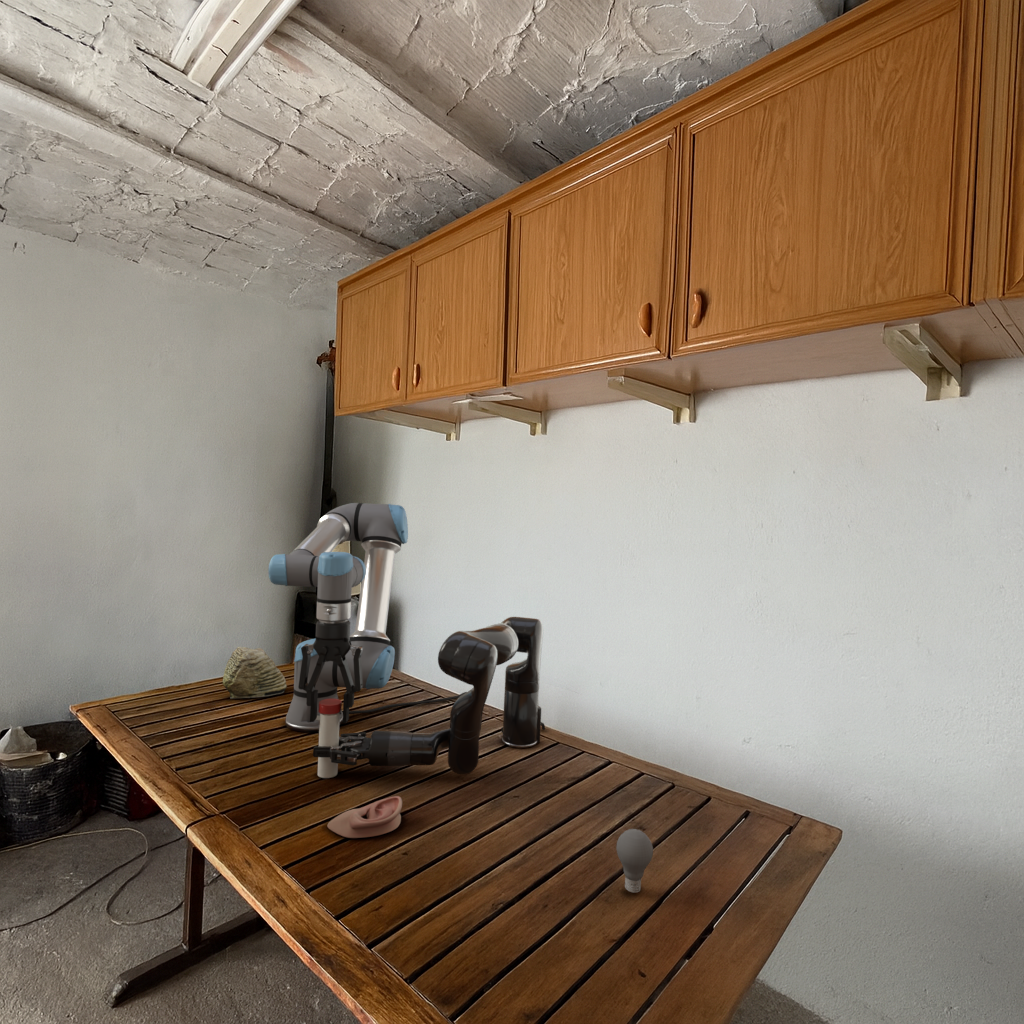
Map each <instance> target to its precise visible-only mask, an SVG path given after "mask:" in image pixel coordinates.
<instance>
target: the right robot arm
mask: <svg viewBox="0 0 1024 1024" xmlns="http://www.w3.org/2000/svg"><path fill="white" fill-rule="evenodd" d="M543 641H544V624H543V622H542V620H541V619H539V618H533V617H523V616H509V617H507V618H504V620H502V621H501V622H498V623H493V624H490V625H487V626H485V627H482V628H478V629H477V628H476V629H473V630H457V631H455V632H453V633H451V634H449V636H447V638H446V639H445V640H444V642H442V645H441V646H440V648H439V651H438V654H437V663H438V666H439V669H440V670H441V671H442V672H443V673H444V674H446V675H447V676H449V677H451V678H453V679H456V680H458V681H460V682H463V683H464V684H467V685H470V686H472V687H471V689H470V690H468V691H466V692H467V693H465V694H463V695H462V696H461V697H459V698H457V699H455V701H454V703H453V704H452V707H451V709H450V713H449V728H446V729H442V730H437V731H433V732H407V731H395V730H394V731H393V730H392V731H391V730H389V731H387V730H375V731H374V730H373V732H372V733H371V735H370V737H367V732H365V731H360V732H349V733H341V734H339V746H333V747H330V746H319V745H316V746H314V747H313V749H312V756H313V758H318V757H330V759H331V762H332V763H338V765H339V764H340V765H347V766H353V767H354V766H357V762H358V761H361V760H368V764H369V765H370V766H371V767H406V766H423V767H424V766H425V767H426V766H428V767H429V766H433V765H435V764H436V762H437V760H438V757H439V755H440V754H439V753H440V752H441V751H443V750H446V749H447V765H448V767H449V769H450V770H451V771H452V772H453V773H454V774H456V775H459V776H466V775H468V774H471V773H472V772H474V771H475V769H476V768H477V767H478V764H479V758H480V757H479V752H480V751H479V749H480V735H481V730H482V724H483V723H482V721H483V720H482V719H483V712H484V709H485V705H486V702H487V698H488V696H489V692H490V689H491V686H492V682H493V679H494V675H495V672H496V669H497V666H500V665H503V664H505V663H506V662H508V661H510V660H511V659H513V657H515V655H516V653H521V654H527V656H526V658H525V659H523V660H521V661H517V662H513V663H510V664H508V665H507V666H506V667H505V671H504V672H505V673H504V693H503V716H502V717H503V719H502V723H503V724H502V727H501V730H500V731H501V734H502V737H501V743H503V744H504V745H506V746H507V747H511V748H515V749H527V748H531V747H534V746H537V744H540V743H541V730H543V731H545V730H546V725H545V723H544V722H543V721H542V707H541V706H539V705H540V704H539V703H540V681H541V666H542V665H541V664H542V649H543V643H544V642H543Z"/></svg>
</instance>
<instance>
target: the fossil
mask: <svg viewBox="0 0 1024 1024" xmlns="http://www.w3.org/2000/svg"><path fill="white" fill-rule="evenodd" d="M222 676H223V677H222V685H223V687H224V688H225V690H226V691H228V693H229V698H230V699H250V698H264V697H271V696H275V695H281V694H284V693H285V691H286V689H287V687H288V686H287V680H286V678H285V676H284V674H283V673H282V672H281V669H279V668H278V667H277V665H276V663H275V662H274V660H273V659H272V658H271V657H270V656H269V655H268V654H267V653H266V652H265V650H264V649H263V648H260V647H258V648H251V647H247V646H246V647H245V646H238V647H237V648H236V649H235V650H233V651H232V653H231V656H230V657H229V659H228V660H227V663H226V666H225V668H224V671H223V675H222Z"/></svg>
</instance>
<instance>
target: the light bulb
mask: <svg viewBox="0 0 1024 1024" xmlns="http://www.w3.org/2000/svg"><path fill="white" fill-rule="evenodd" d="M615 849H616V854H617V857H618V859H619V861H620V863H621V865H622V867H623V873H624V874H623V875H624V876H625V878H624V888H625V890H627V891H628V892H630V893H634V894H635V893H639V892H640V891H641V889H642V887H641V886H642V879H643V877H644V875H645V871H646V868H647V867H648V866H649V864H650V863H651V861H652V859H653V855H654V847H653V843H652V841H651V838H649V836H648V835H647V834H646V833H645V832H643V831H642V830H641V829H636V828H629V829H627V830H625V831H623V832H622V833H621V834H620V835H619V837H618V839H617V841H616V847H615Z"/></svg>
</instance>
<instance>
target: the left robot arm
mask: <svg viewBox="0 0 1024 1024" xmlns="http://www.w3.org/2000/svg"><path fill="white" fill-rule="evenodd" d="M408 525H409V524H408V517H407V512H406V509H405V507H404V506H402V505H400V504H392V503H370V502H369V503H366V502H364V503H362V502H351V503H346V504H343V505H340V506H337V507H335V508H333V509H331V510H329V511H328V512H327V513H325V514H323V516H321V518H319V520H318V522H317V524H316V527H315V528H314V529H313V530H312V531H311V532H310V533H309V535H307V536H306V537H305V538H304V539H303V540H302V541H301V542H300V543H299V544H298V545H297V546H296V547H295V548H294V549H293V550H292V551H291V552H290V553H289V554H287V553H281V554H279V553H278V554H277V553H276V554H274V555H272V557H271V559H270V561H269V564H268V578H269V581H270V583H271V584H273V585H276V586H285V587H310V588H313V587H315V588H317V594H316V595H317V596H316V619H317V621H316V623H315V638H311V639H307V640H304V641H302V642H300V643H298V644H297V645H296V648H295V655H294V660H293V662H294V672H293V695H292V696H293V697H292V699H291V702H290V704H289V708H288V711H287V713H286V715H285V726H286V728H287V729H289V730H291V731H294V732H295V731H296V732H301V733H316V732H318V733H319V724H320V713H319V702H320V701H321V700H324V699H339V695H338V688H345V690H346V691H345V692H344V694H343V703H342V708H341V711H340V724H339V726H340V725H342V724H347V723H348V721H349V720H350V715H355V714H357V715H358V714H369V713H375V712H378V711H383V710H385V709H391V708H398V707H406V706H416V705H423V704H424V705H425V704H426V705H427V704H434V703H441V702H446V701H451V700H457V699H458V698H459V697H461V696H462V695H463V694H465V693H467V692H468V691H463V692H462V693H460V694H458V695H453V696H449V697H443V698H437V699H427V700H417V701H410V702H409V701H408V702H401V703H392V704H387V705H383V706H380V707H375V708H370V709H362V710H361V709H359V710H350V709H352V708H353V707H354V704H355V693H357V692H358V693H360V691H361V690H362V689H366V690H370V689H382V688H384V687H385V686H386V685H387V684H388V682H389V680H390V678H391V675H392V672H393V668H394V663H395V655H396V650H395V647H394V646H392V645H391V639H390V638H389V637H388V635H387V634H386V632H387V626H388V617H389V607H390V598H391V592H392V591H391V590H392V581H393V574H394V565H395V558H396V555H397V554H398V553H400V551H401V550H402V545H405V544H407V543H408V539H409V527H408ZM345 542H360V544H361V547H362V549H363V550H364V551H365V554H364V555H365V556H364V561H363V560H362V559H361V558H359V557H358V556H355V555H353V554H352V553H350V552H347V551H346V552H345V551H334V550H335V549H336V547H337V546H338V545H341V544H343V543H345ZM359 584H360V591H359V598H358V607H357V612H356V613H357V614H356V621H355V628H354V632H352V633H351V621H350V619H351V617H352V592H353V591H352V589H353V588H354V587H357V586H359Z"/></svg>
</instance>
